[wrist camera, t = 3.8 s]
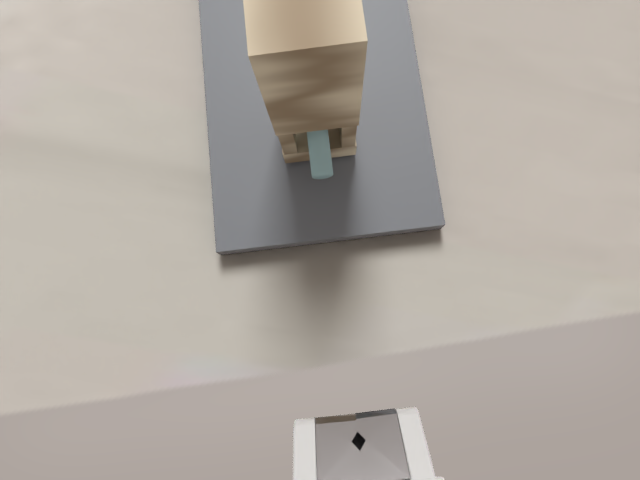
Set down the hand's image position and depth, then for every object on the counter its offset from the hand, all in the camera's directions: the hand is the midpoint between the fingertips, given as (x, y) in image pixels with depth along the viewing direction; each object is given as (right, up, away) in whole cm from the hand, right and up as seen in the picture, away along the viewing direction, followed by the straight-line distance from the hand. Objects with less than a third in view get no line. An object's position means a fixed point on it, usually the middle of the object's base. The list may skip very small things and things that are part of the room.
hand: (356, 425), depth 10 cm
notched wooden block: (-1, +12, +16) cm, 20 cm away
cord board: (-2, +19, +19) cm, 27 cm away
